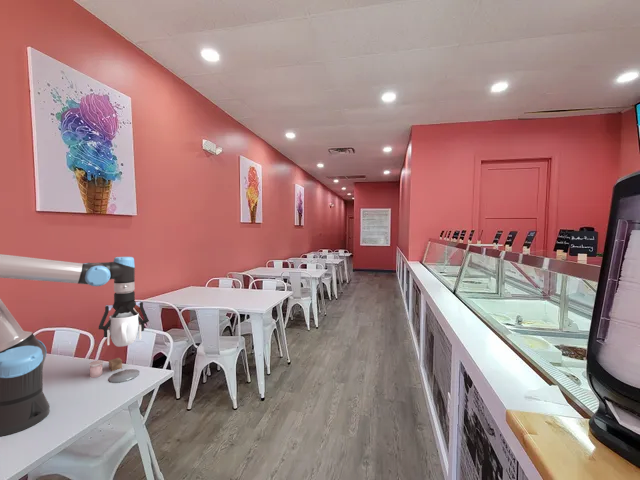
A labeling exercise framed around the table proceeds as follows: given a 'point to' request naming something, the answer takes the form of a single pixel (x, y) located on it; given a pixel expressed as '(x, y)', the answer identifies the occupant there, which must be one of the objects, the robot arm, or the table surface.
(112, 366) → the walnut cube
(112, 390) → the table surface
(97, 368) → the pink jar
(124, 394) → the table surface
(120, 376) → the coaster
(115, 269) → the robot arm
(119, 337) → the mug
